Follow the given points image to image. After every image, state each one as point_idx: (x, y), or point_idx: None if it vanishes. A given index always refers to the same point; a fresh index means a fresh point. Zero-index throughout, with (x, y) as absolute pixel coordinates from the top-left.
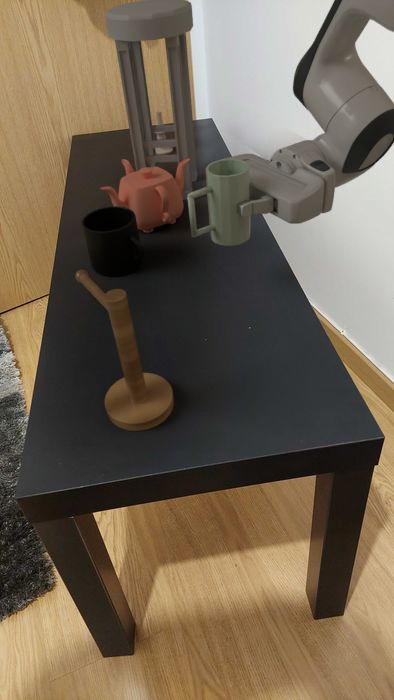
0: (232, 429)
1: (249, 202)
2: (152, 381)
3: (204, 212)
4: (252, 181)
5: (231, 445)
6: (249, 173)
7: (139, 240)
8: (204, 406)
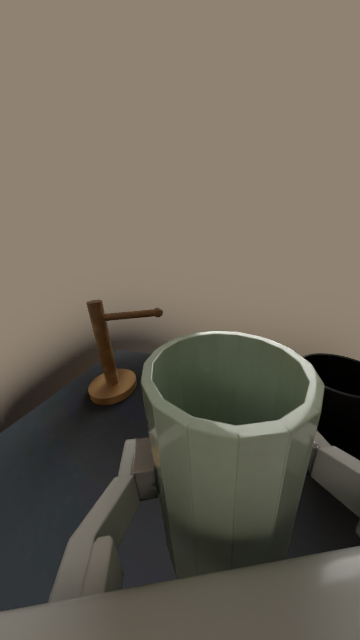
0: (35, 426)
1: (127, 466)
2: (116, 391)
3: None
4: (259, 584)
5: (29, 419)
6: (177, 448)
7: (342, 429)
8: (71, 418)
